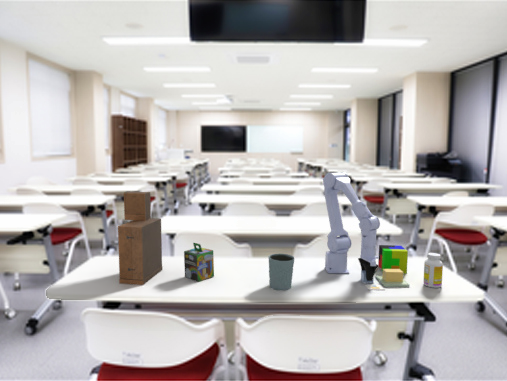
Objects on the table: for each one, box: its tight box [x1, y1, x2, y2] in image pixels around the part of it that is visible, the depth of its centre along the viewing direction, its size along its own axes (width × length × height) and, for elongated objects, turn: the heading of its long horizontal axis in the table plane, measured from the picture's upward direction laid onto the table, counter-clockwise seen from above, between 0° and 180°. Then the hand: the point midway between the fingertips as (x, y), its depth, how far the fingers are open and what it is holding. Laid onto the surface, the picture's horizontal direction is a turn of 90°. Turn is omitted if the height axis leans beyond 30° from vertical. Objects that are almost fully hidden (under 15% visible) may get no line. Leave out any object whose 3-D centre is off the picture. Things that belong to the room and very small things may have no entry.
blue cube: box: [360, 269, 375, 284], centre depth 154 cm, size 4×4×4 cm
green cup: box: [268, 253, 295, 291], centre depth 147 cm, size 10×10×12 cm
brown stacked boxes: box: [117, 191, 163, 286], centre depth 156 cm, size 19×14×35 cm
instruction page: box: [365, 284, 386, 291], centre depth 147 cm, size 6×5×1 cm
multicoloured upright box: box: [183, 242, 215, 283], centre depth 157 cm, size 9×9×15 cm
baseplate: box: [375, 275, 410, 288], centre depth 153 cm, size 10×10×1 cm
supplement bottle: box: [423, 252, 444, 289], centre depth 149 cm, size 7×7×13 cm
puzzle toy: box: [377, 244, 409, 274], centre depth 169 cm, size 10×10×10 cm
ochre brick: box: [381, 269, 404, 282], centre depth 153 cm, size 7×4×4 cm, turn 90°
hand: (367, 277), depth 154 cm, fingers open, 5 cm apart
